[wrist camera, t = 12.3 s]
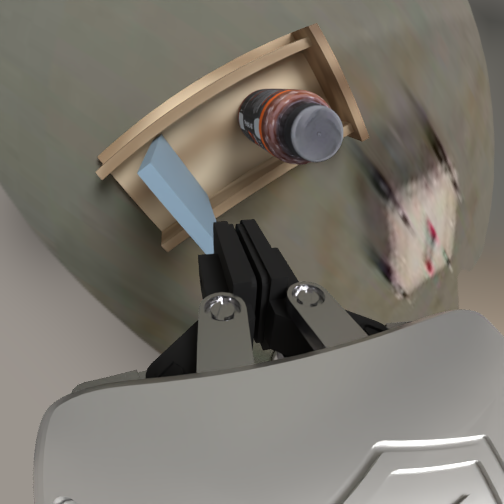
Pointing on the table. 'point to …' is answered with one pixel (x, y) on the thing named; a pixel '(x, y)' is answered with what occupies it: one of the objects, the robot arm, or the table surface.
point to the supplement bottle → (291, 125)
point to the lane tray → (229, 126)
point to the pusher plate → (178, 192)
